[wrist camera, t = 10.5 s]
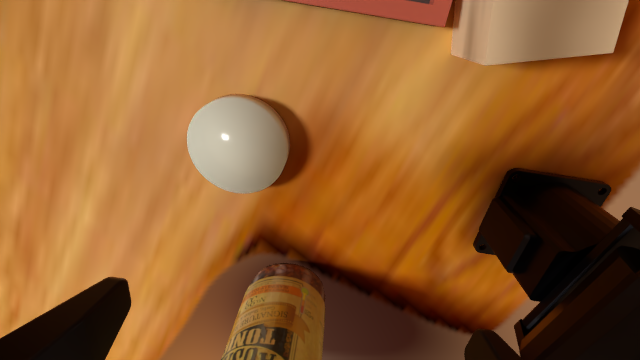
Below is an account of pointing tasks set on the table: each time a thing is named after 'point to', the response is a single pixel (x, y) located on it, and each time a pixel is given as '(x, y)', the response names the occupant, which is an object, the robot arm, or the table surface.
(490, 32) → the wooden masu box
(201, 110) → the glossy white dome
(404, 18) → the lacquer tray
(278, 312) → the sauce bottle
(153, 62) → the table surface
